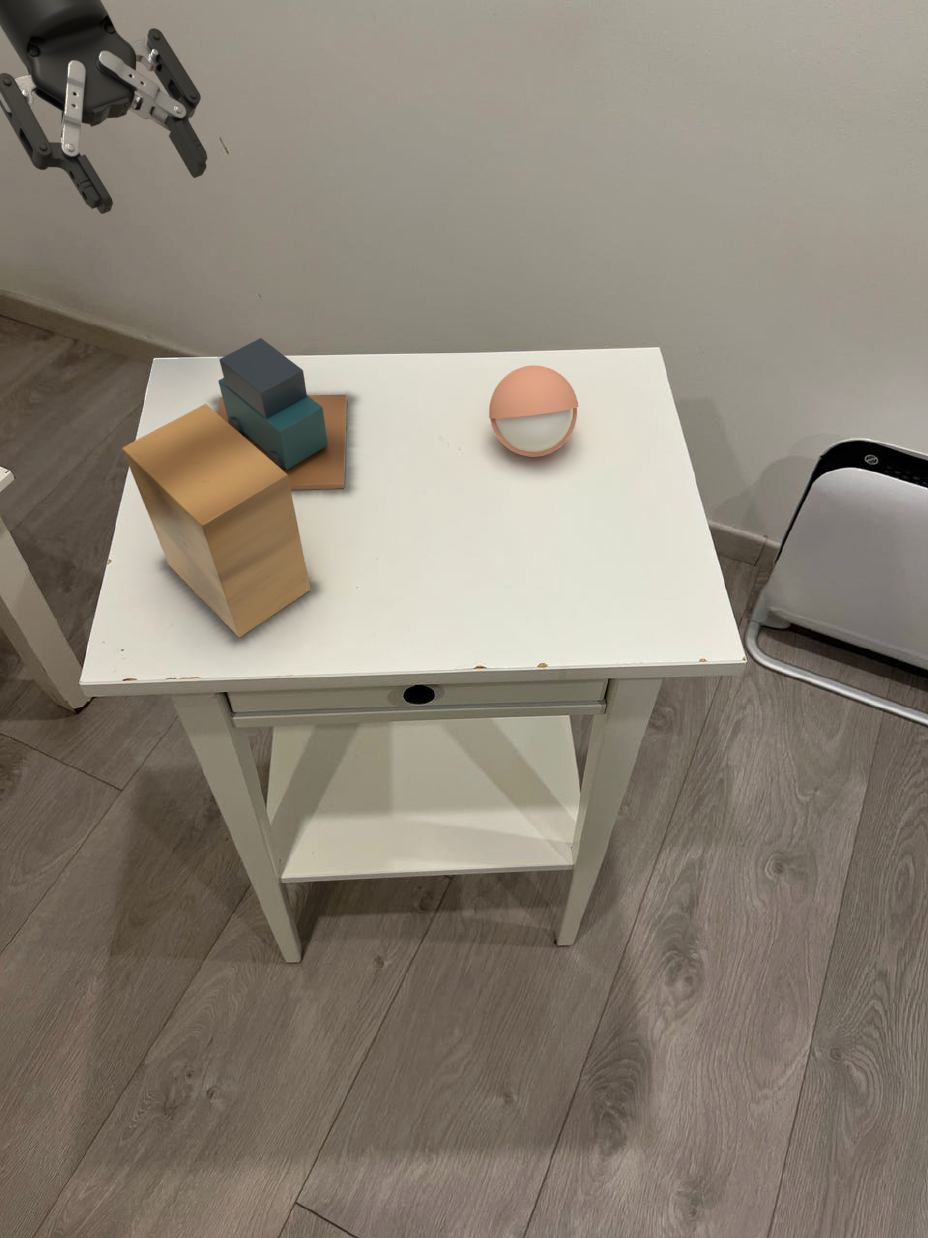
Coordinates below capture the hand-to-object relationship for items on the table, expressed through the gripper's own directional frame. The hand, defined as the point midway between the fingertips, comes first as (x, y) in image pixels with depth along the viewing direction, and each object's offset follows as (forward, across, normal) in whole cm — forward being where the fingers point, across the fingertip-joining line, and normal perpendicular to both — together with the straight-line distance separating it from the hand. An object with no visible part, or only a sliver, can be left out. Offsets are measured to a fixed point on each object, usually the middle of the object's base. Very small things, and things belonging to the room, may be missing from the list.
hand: (155, 190), depth 69 cm
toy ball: (+33, +17, -6) cm, 38 cm away
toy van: (+21, 0, +5) cm, 22 cm away
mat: (+22, 0, +5) cm, 22 cm away
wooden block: (+29, -12, -2) cm, 32 cm away
